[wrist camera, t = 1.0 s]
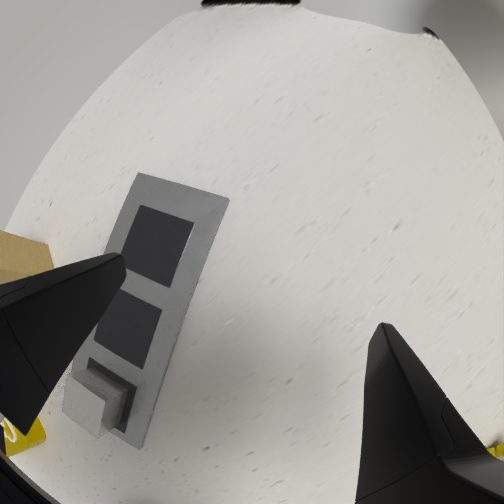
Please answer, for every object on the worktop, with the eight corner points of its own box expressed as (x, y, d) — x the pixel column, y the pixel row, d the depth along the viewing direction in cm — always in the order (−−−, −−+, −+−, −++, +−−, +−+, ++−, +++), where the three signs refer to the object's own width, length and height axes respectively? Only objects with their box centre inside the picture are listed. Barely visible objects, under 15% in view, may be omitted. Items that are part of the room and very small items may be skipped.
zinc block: (119, 424, 22) (97, 438, 18) (85, 401, 22) (62, 411, 19) (128, 389, 22) (105, 401, 18) (92, 367, 23) (67, 373, 19)
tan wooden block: (57, 278, 26) (-12, 266, 16) (37, 297, 26) (-28, 290, 16) (47, 244, 27) (-16, 225, 17) (28, 264, 27) (-33, 250, 17)
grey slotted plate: (141, 447, 22) (139, 450, 21) (69, 398, 23) (66, 399, 23) (229, 200, 25) (228, 197, 24) (140, 174, 26) (137, 172, 26)
